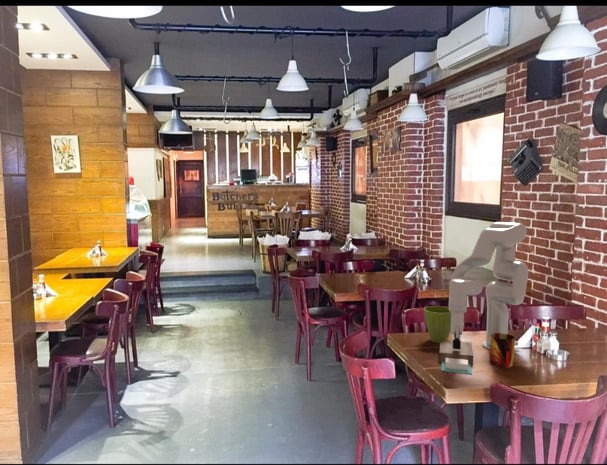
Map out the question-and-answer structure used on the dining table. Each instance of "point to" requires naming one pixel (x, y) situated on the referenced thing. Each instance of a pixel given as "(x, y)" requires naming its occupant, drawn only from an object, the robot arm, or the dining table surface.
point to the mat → (456, 369)
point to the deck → (456, 351)
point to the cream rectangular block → (456, 364)
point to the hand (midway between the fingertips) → (456, 348)
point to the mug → (502, 350)
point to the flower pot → (438, 322)
